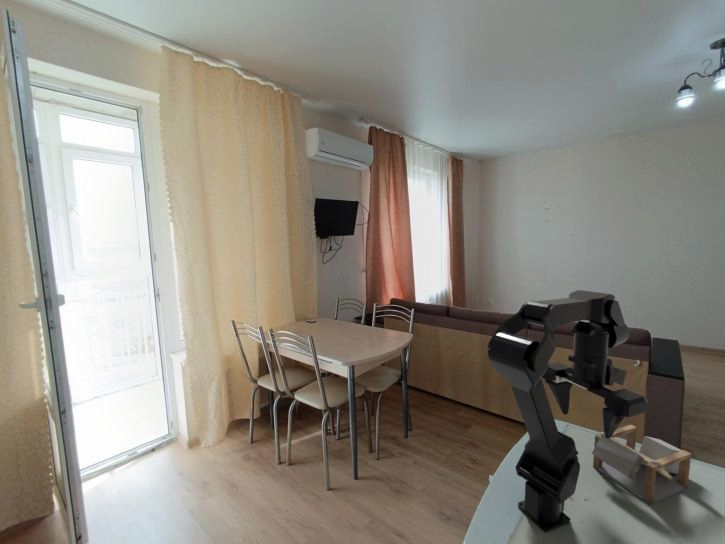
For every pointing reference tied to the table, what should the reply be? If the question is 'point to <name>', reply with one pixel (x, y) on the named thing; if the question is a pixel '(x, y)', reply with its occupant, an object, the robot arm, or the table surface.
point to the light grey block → (659, 451)
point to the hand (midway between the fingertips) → (585, 425)
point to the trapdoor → (622, 457)
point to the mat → (642, 482)
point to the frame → (652, 462)
